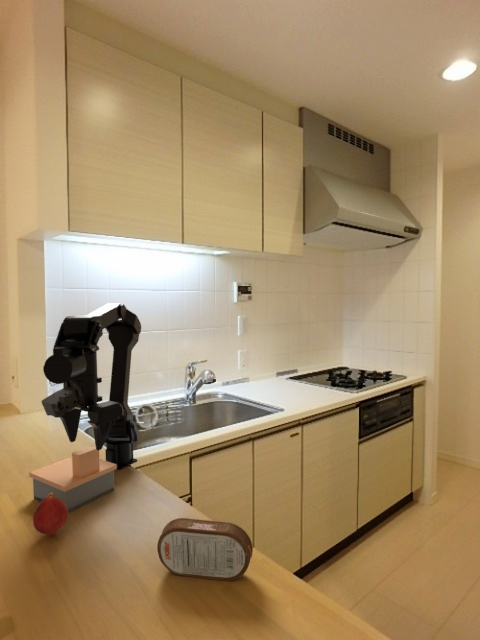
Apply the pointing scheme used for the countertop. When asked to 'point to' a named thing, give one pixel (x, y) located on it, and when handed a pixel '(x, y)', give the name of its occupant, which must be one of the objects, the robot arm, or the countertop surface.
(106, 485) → the tub
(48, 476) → the lid
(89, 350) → the robot arm
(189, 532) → the tin
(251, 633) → the countertop surface
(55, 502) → the onion
